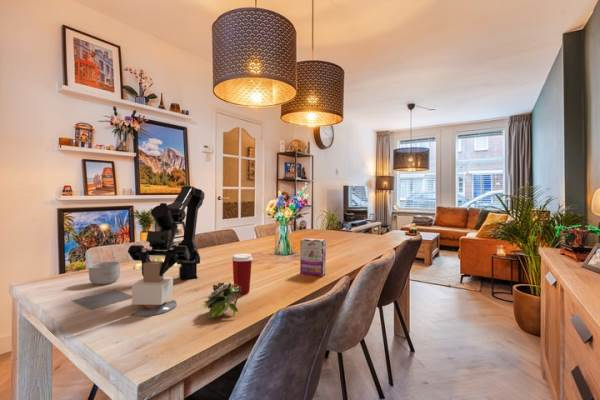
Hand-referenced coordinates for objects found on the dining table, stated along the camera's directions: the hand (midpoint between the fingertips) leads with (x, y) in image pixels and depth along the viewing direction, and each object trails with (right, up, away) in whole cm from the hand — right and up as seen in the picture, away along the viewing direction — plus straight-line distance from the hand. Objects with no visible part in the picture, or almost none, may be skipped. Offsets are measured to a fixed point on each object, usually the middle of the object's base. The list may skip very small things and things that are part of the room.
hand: (151, 275), depth 96 cm
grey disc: (0, -11, +2) cm, 11 cm away
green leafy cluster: (+24, -11, -2) cm, 26 cm away
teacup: (-31, -10, +27) cm, 42 cm away
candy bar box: (+53, -11, +45) cm, 70 cm away
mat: (-19, -10, +7) cm, 23 cm away
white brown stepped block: (0, -8, +2) cm, 8 cm away
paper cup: (+25, -11, +17) cm, 33 cm away
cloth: (-23, -10, +53) cm, 58 cm away
